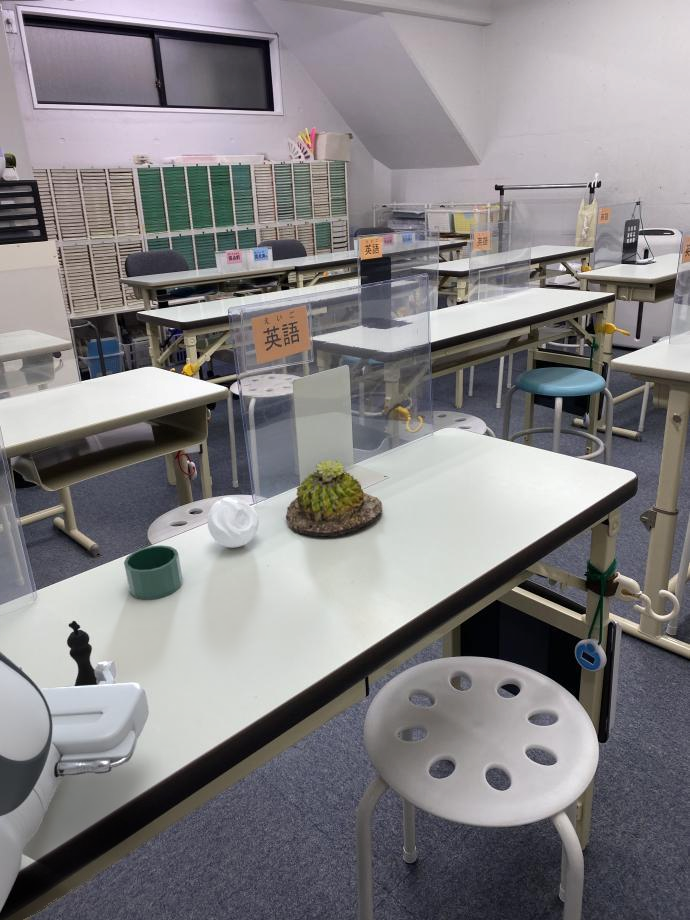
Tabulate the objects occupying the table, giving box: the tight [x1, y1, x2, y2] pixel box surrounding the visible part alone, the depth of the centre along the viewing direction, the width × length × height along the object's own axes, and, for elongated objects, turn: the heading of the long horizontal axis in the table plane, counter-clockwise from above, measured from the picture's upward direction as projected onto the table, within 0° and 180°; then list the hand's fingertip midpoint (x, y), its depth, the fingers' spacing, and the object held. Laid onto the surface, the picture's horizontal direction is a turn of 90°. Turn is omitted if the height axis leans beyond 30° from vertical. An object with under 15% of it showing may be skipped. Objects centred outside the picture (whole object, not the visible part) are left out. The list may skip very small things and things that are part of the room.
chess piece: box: [66, 620, 97, 686], centre depth 75 cm, size 4×4×10 cm
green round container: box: [123, 544, 183, 601], centre depth 98 cm, size 7×7×4 cm
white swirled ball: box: [206, 496, 259, 549], centre depth 107 cm, size 8×8×8 cm
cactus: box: [285, 459, 383, 537], centre depth 114 cm, size 17×16×10 cm
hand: (62, 669), depth 70 cm, fingers open, 8 cm apart
